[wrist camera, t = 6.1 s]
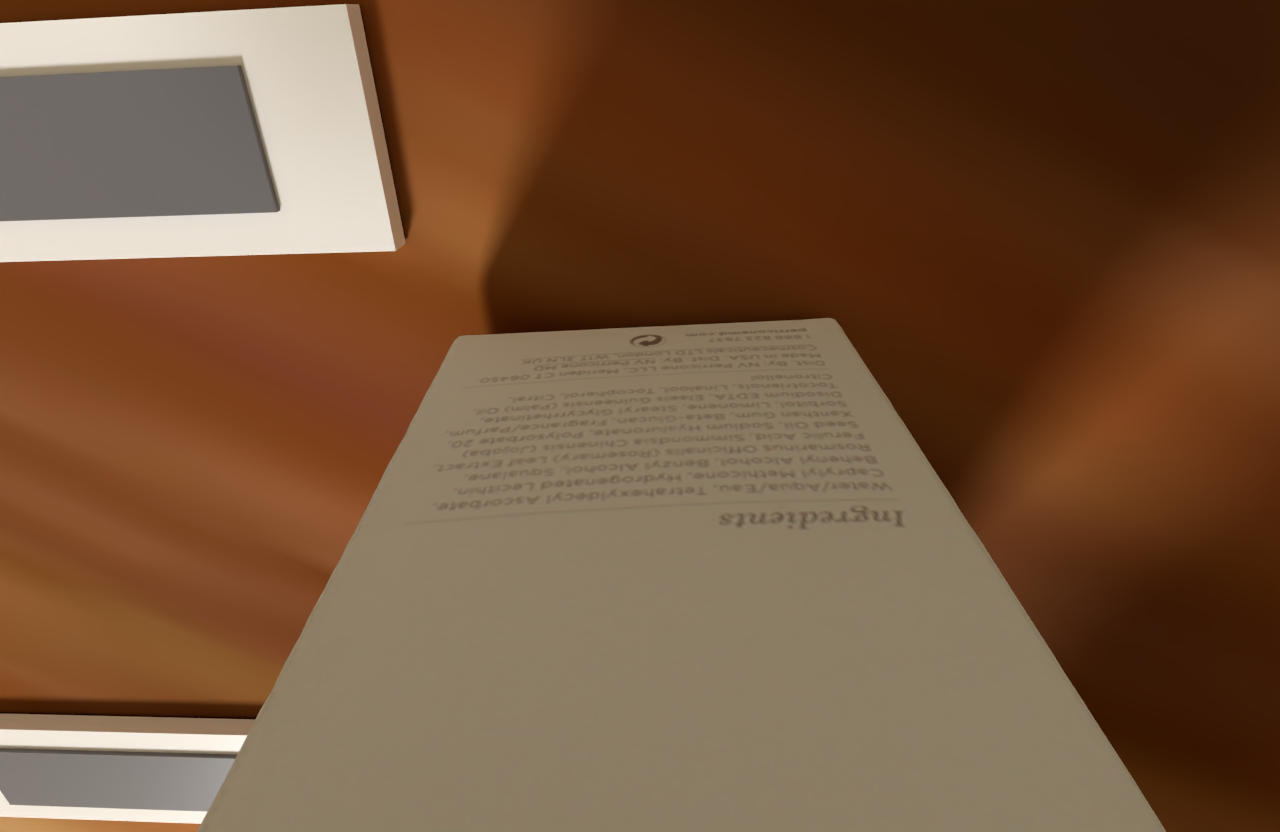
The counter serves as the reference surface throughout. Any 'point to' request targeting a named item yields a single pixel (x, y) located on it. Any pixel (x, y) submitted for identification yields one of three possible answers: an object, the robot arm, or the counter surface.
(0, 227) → the bracket
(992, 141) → the counter surface
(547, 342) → the small box
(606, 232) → the counter surface
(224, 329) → the counter surface
